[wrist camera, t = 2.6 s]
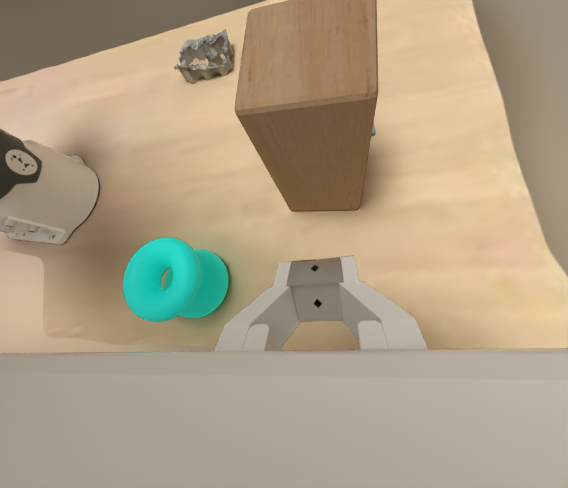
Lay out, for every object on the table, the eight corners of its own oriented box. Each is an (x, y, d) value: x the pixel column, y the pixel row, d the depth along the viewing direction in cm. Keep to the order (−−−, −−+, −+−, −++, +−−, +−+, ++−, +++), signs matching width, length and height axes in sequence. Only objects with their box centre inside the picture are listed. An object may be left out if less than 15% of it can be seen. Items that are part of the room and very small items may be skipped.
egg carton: (184, 87, 48) (170, 69, 44) (189, 58, 50) (176, 37, 46) (233, 77, 46) (223, 56, 42) (236, 46, 48) (226, 24, 44)
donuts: (198, 308, 25) (118, 332, 27) (238, 307, 34) (177, 325, 36) (185, 223, 28) (114, 249, 30) (225, 243, 37) (170, 262, 39)
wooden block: (359, 148, 36) (376, -25, 17) (359, 210, 34) (379, 91, 15) (294, 153, 38) (246, 7, 19) (289, 212, 36) (231, 111, 17)
